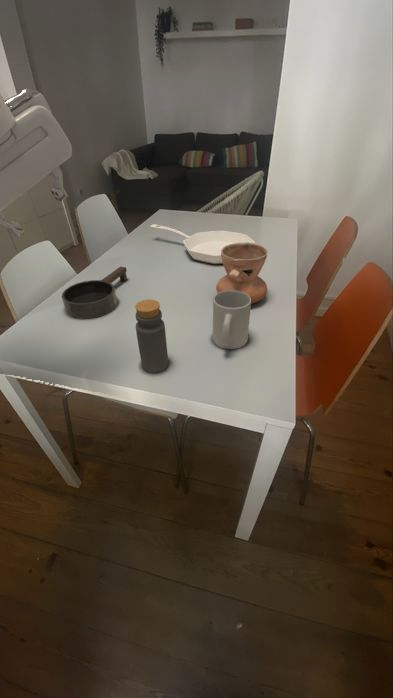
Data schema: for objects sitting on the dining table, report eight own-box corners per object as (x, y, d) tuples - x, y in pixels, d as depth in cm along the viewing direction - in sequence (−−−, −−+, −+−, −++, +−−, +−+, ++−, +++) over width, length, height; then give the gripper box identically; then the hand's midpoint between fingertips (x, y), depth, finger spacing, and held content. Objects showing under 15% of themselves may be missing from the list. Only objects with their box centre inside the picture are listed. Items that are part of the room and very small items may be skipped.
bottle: (170, 356, 72) (165, 298, 63) (165, 374, 67) (159, 313, 58) (145, 355, 73) (136, 297, 63) (139, 372, 68) (128, 312, 59)
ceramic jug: (256, 316, 84) (262, 266, 76) (206, 306, 89) (206, 257, 81) (273, 288, 97) (279, 241, 88) (228, 280, 102) (230, 235, 93)
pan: (234, 272, 107) (235, 253, 103) (133, 249, 125) (131, 233, 121) (262, 247, 124) (264, 231, 120) (170, 231, 142) (169, 216, 138)
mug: (216, 327, 81) (216, 288, 74) (249, 331, 79) (253, 291, 73) (205, 356, 72) (205, 314, 65) (243, 361, 70) (247, 319, 63)
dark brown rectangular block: (103, 293, 97) (100, 280, 94) (122, 278, 105) (120, 266, 102) (109, 295, 96) (106, 281, 93) (128, 279, 104) (126, 267, 101)
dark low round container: (55, 313, 88) (50, 299, 85) (86, 290, 98) (83, 277, 96) (98, 323, 84) (94, 308, 81) (126, 298, 94) (124, 284, 91)
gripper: (23, 81, 45) (74, 176, 56) (-105, 160, 38) (-17, 250, 49) (49, 81, 42) (97, 181, 53) (-85, 167, 35) (4, 261, 46)
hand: (41, 215), depth 51 cm, fingers open, 8 cm apart
